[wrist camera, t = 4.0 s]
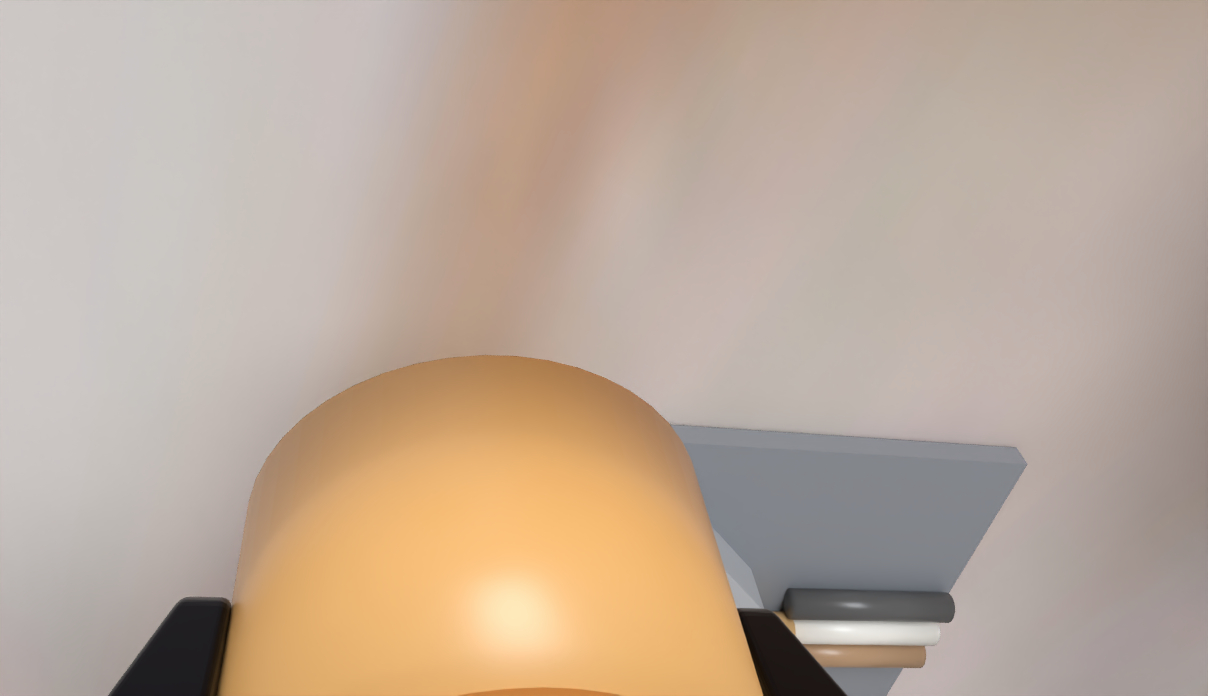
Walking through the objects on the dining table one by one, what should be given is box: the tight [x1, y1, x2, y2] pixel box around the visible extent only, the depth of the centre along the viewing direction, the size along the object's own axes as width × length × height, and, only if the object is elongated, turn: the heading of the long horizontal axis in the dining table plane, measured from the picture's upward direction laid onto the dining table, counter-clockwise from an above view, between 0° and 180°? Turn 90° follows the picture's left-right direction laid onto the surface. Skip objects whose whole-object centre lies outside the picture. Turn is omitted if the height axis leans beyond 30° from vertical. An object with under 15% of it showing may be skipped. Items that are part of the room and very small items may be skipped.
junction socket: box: [671, 425, 1027, 696], centre depth 27 cm, size 16×12×2 cm
